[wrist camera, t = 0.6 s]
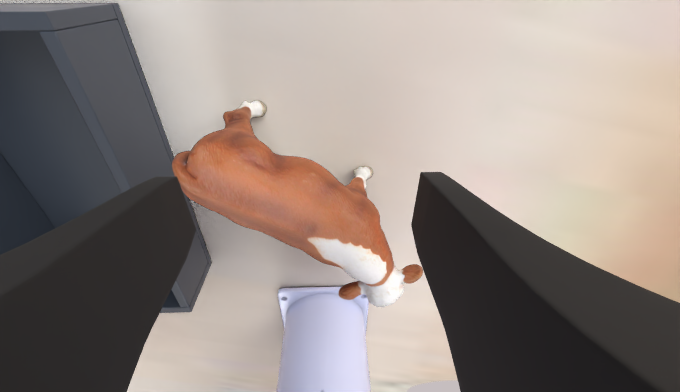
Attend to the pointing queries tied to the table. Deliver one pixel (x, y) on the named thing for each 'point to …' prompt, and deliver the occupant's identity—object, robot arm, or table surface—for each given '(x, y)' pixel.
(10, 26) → the tote
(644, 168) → the table surface
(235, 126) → the bull figurine
